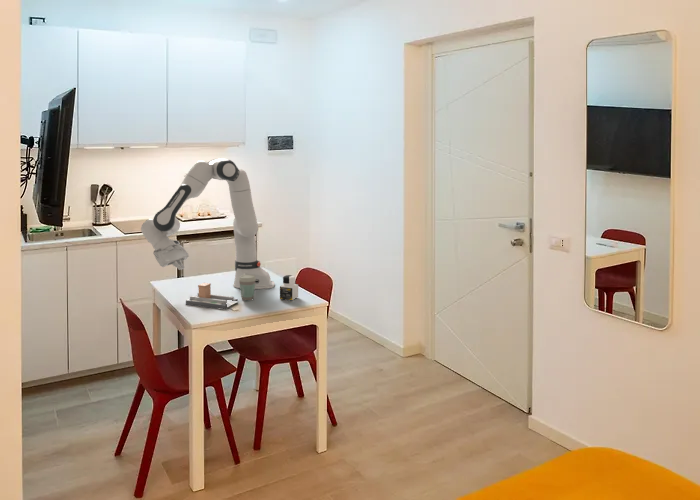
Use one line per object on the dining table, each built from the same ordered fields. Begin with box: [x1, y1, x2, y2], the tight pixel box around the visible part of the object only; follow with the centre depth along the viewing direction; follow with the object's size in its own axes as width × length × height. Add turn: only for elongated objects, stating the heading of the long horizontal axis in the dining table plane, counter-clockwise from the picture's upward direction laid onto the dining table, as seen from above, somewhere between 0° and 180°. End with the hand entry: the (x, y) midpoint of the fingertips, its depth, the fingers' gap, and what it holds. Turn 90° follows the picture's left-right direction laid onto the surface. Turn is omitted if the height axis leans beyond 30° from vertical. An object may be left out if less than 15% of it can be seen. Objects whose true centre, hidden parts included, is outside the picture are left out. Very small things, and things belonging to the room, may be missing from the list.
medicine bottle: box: [279, 274, 299, 301], centre depth 318 cm, size 7×7×12 cm
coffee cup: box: [239, 275, 256, 301], centre depth 315 cm, size 8×8×12 cm
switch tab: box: [197, 282, 212, 298], centre depth 308 cm, size 4×5×7 cm
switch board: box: [185, 292, 239, 310], centre depth 308 cm, size 22×12×4 cm, turn 70°
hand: (182, 268), depth 310 cm, fingers closed
